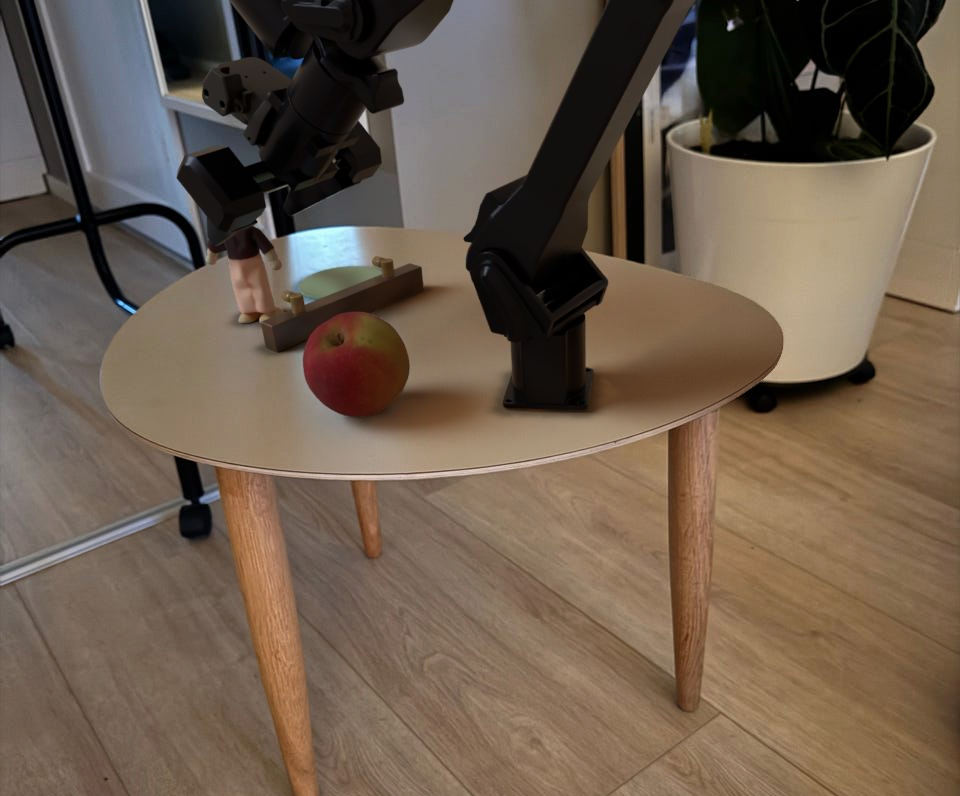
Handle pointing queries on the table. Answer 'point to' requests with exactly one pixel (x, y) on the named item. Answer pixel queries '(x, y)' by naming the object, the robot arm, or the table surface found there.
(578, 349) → the robot arm
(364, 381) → the apple
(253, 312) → the grandmother figurine
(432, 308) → the table surface
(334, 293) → the hook rail
